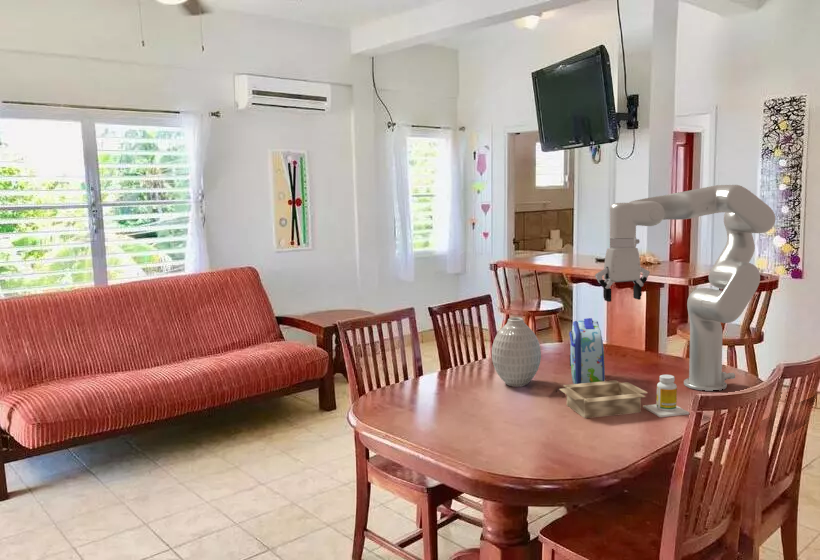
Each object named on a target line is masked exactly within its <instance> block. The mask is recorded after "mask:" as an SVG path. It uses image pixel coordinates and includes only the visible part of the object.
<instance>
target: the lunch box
mask: <svg viewBox="0 0 820 560" xmlns="http://www.w3.org/2000/svg"><path fill="white" fill-rule="evenodd" d="M569 340H570V343H569V344H570V345H569V347H570V350H569V351H570V355H569V367H570V370H571V371H570V373H571V374H570V375H571V380H572V382H573V384H581V383H591V382H602V381H606V380H605V379H606V377H605V376H606V374H605V373H606V372H605V371H606V370H605V368H606V367H605V348H604V340H603V336H602V330H601V328H600V325H599V321H598V320H593V318H592V317H590V318H589V317H588V318H587V317H586V318H583V320H578V321H577V320H574V321H573V322H572V328H571V330H570V331H569Z"/></svg>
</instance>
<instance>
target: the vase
mask: <svg viewBox="0 0 820 560" xmlns="http://www.w3.org/2000/svg"><path fill="white" fill-rule="evenodd" d="M491 346H492V347H491V360H492V364H493V368H494V371H495V372H496V373H497V375H498V376H499V379H501V380H502V381H503V382H504V383H505V384H506V385H507V386H508V387H509V386H510V387H518V388H519V387H524V386H527V385H528V384H529V383H530V382H531V381H532V380H533V378H534V377H535V376H536V374H537V372H538V370H539V368H540V364H541V360H542V351H541V350H542V349H541V344H540V340H539V339H538V337H537V335H536V333H535V332H534V331H533V330H532V329H531V327H530V326H528V325H527V323H525V321H524V319H523V318H522V317H510V318H508V319H507V322H506V324H504V325H503V326H502V327H501V328H500V330H499V331H498V332H497V334H496V335H495V337H494V340H493V343H492V345H491Z"/></svg>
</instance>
